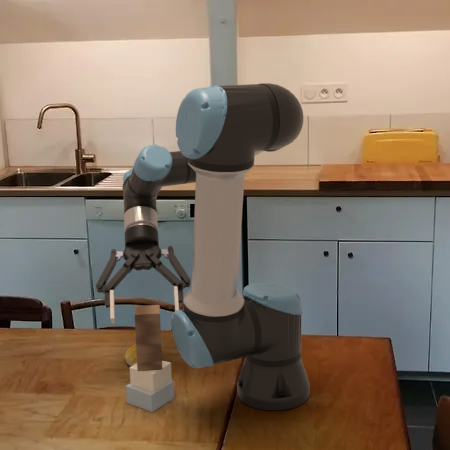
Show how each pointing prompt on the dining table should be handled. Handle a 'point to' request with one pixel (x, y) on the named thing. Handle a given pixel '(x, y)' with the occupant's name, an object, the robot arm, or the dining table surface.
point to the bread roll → (131, 355)
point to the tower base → (150, 396)
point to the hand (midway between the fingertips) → (145, 319)
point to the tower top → (151, 377)
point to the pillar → (148, 337)
